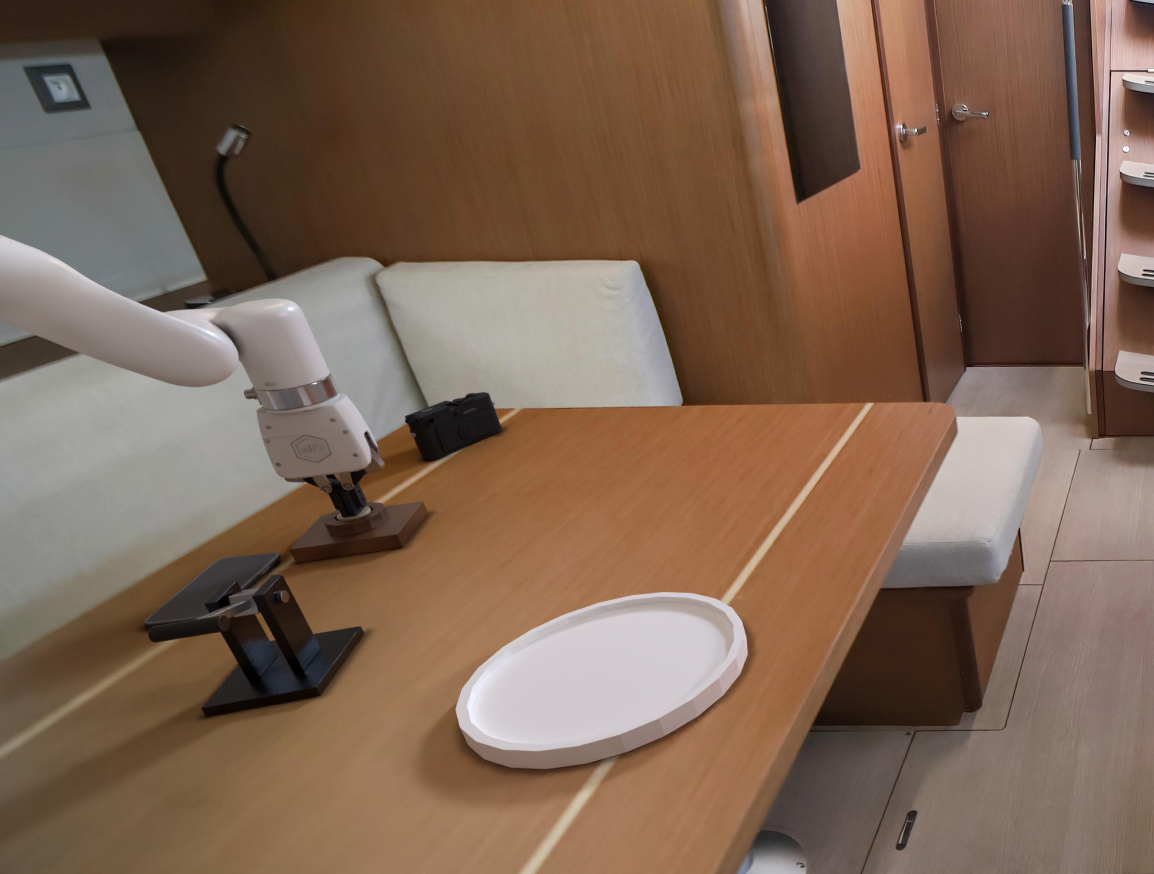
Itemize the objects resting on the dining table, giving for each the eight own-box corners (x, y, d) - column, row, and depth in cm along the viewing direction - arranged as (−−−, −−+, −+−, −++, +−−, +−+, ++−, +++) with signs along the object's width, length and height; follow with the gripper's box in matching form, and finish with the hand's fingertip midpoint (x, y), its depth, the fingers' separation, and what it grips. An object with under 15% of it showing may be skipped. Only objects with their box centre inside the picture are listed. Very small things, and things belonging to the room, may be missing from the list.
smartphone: (136, 624, 116) (217, 557, 129) (140, 630, 117) (220, 563, 129) (211, 615, 118) (283, 550, 131) (215, 622, 118) (286, 556, 131)
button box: (295, 563, 130) (282, 538, 128) (328, 527, 138) (316, 503, 137) (403, 547, 134) (392, 523, 132) (428, 513, 142) (418, 490, 141)
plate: (646, 586, 127) (641, 571, 126) (800, 644, 116) (796, 628, 115) (406, 718, 104) (397, 700, 103) (570, 805, 94) (563, 786, 92)
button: (336, 531, 133) (331, 520, 132) (347, 518, 136) (342, 508, 135) (368, 526, 134) (363, 516, 134) (379, 514, 137) (374, 504, 136)
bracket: (320, 695, 107) (274, 609, 102) (205, 716, 103) (151, 629, 98) (364, 633, 117) (325, 552, 112) (261, 651, 113) (215, 568, 108)
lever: (222, 636, 97) (216, 614, 96) (151, 648, 95) (144, 625, 95) (292, 603, 108) (287, 583, 108) (230, 613, 106) (224, 592, 106)
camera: (480, 423, 171) (464, 382, 167) (511, 428, 169) (496, 387, 165) (397, 458, 158) (378, 414, 155) (430, 463, 157) (412, 419, 153)
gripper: (210, 411, 121) (274, 534, 129) (356, 396, 126) (409, 515, 134) (241, 389, 127) (300, 508, 135) (379, 375, 132) (428, 491, 140)
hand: (354, 511), depth 134 cm, fingers closed
